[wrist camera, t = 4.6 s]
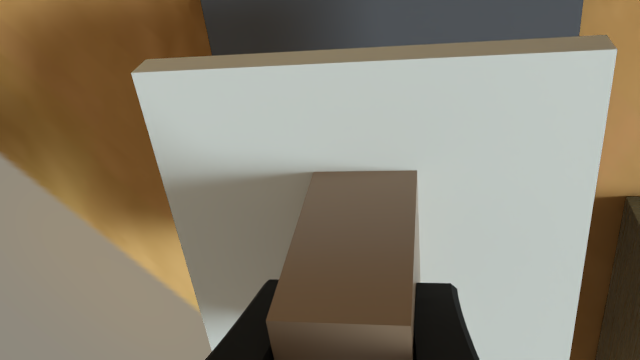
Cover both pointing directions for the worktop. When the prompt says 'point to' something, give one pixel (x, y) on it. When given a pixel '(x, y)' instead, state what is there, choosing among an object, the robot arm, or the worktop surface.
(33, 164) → the worktop surface
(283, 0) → the mat
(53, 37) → the worktop surface
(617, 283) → the tin
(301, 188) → the lid
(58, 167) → the worktop surface
